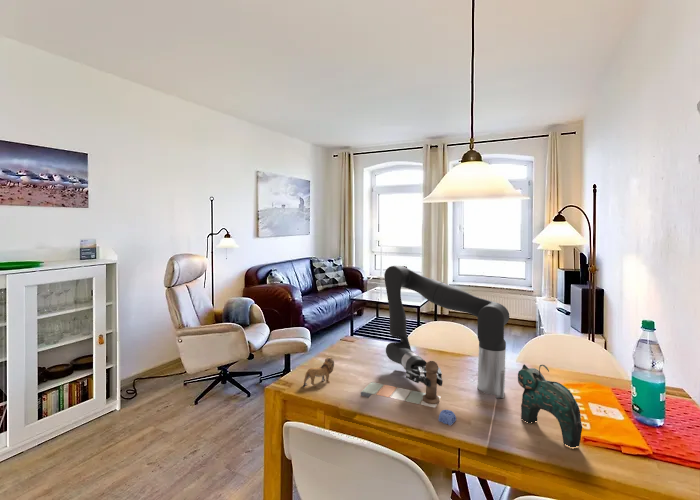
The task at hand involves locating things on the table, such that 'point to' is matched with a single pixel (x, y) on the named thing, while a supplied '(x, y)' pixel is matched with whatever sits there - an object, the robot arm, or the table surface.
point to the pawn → (432, 376)
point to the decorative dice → (447, 417)
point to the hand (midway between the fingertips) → (435, 383)
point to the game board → (395, 393)
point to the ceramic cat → (550, 403)
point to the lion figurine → (320, 371)
